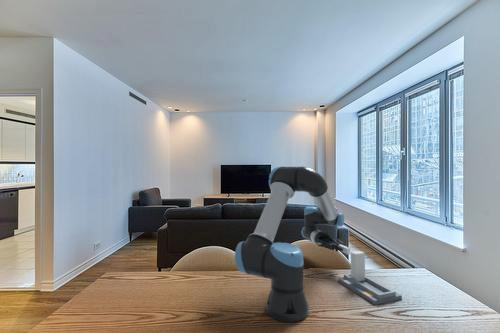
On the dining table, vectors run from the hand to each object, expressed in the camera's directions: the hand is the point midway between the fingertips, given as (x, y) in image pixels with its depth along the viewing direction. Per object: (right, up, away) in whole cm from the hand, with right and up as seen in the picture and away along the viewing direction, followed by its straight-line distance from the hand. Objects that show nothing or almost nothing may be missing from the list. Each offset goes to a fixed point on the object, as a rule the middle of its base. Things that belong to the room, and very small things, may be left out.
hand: (348, 251), depth 127 cm
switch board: (+4, -12, -12) cm, 18 cm away
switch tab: (+2, -10, -6) cm, 12 cm away
